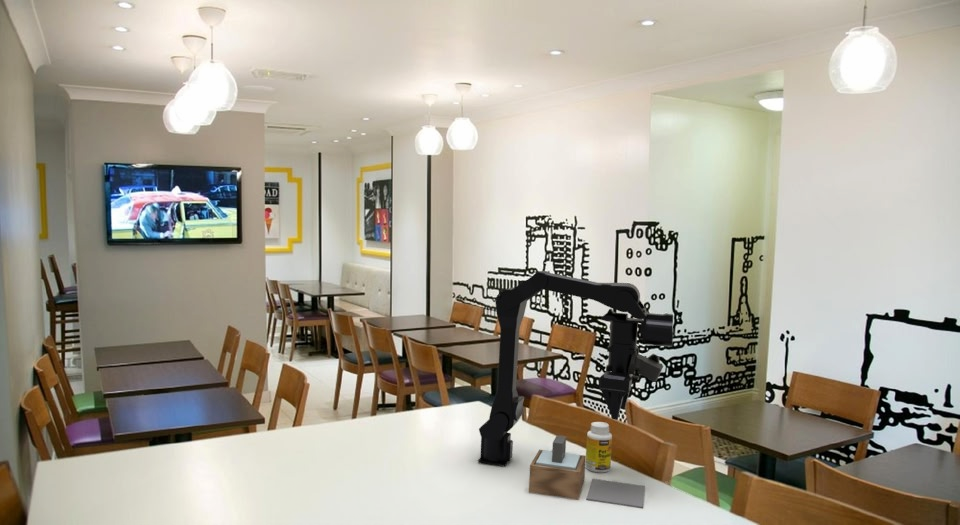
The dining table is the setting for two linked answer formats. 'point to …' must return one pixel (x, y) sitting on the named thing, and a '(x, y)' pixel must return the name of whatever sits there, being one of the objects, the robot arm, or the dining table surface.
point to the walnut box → (557, 479)
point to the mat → (616, 493)
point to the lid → (559, 456)
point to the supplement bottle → (598, 447)
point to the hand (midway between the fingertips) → (618, 413)
